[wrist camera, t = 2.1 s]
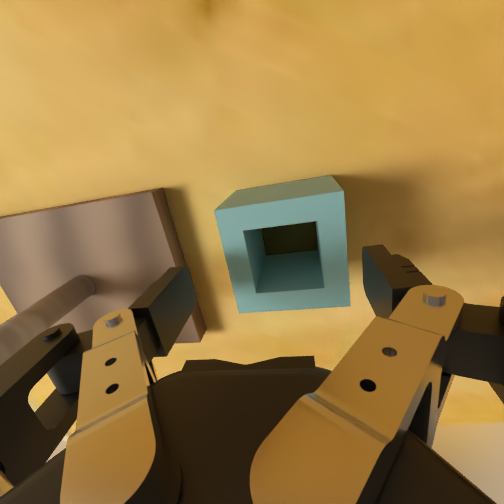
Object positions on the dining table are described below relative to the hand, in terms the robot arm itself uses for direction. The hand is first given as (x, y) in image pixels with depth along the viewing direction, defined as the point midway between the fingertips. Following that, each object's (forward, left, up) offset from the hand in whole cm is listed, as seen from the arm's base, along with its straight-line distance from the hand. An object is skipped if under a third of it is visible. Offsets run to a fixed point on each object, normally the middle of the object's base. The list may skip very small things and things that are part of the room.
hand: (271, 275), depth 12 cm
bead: (-1, 0, -6) cm, 6 cm away
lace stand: (+15, +2, -6) cm, 17 cm away
